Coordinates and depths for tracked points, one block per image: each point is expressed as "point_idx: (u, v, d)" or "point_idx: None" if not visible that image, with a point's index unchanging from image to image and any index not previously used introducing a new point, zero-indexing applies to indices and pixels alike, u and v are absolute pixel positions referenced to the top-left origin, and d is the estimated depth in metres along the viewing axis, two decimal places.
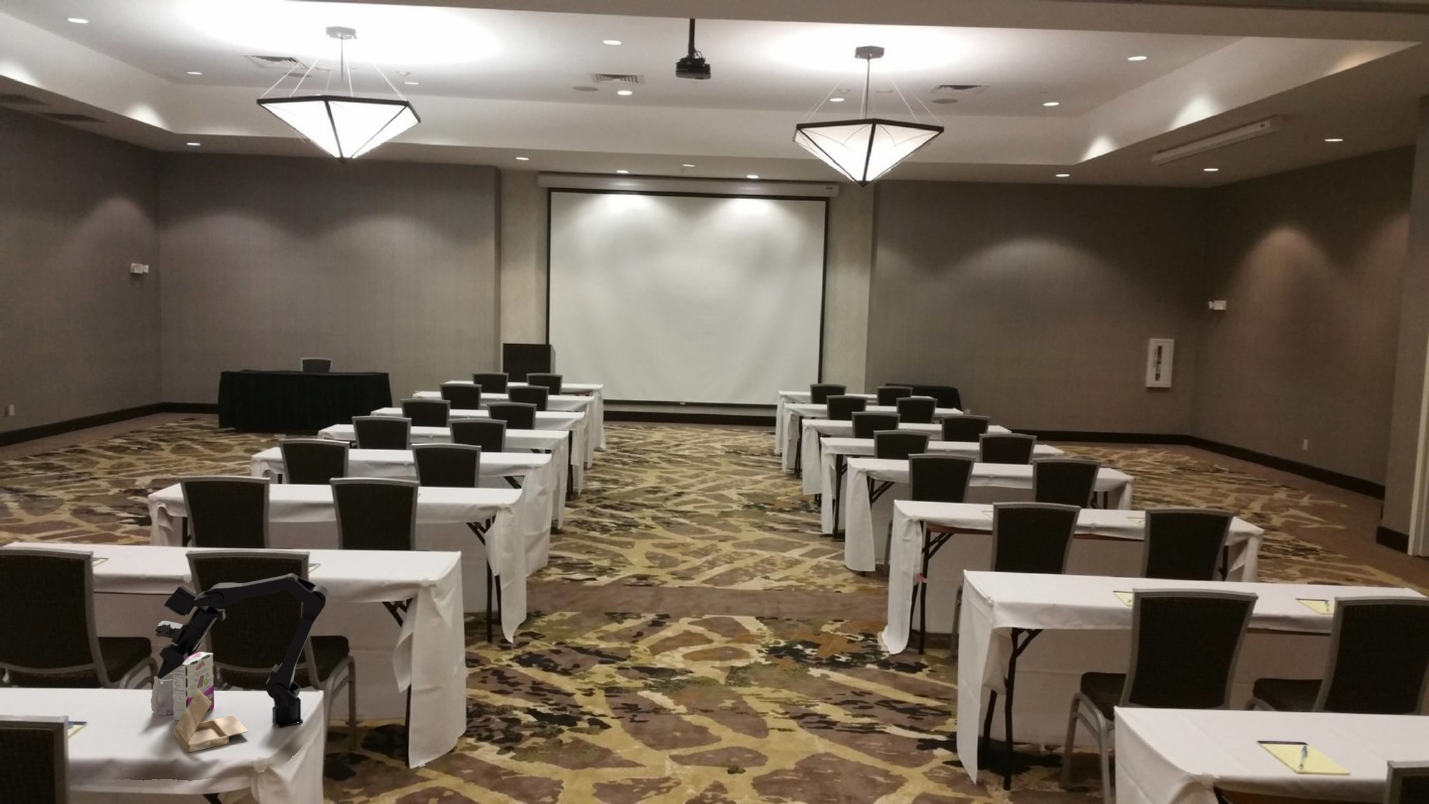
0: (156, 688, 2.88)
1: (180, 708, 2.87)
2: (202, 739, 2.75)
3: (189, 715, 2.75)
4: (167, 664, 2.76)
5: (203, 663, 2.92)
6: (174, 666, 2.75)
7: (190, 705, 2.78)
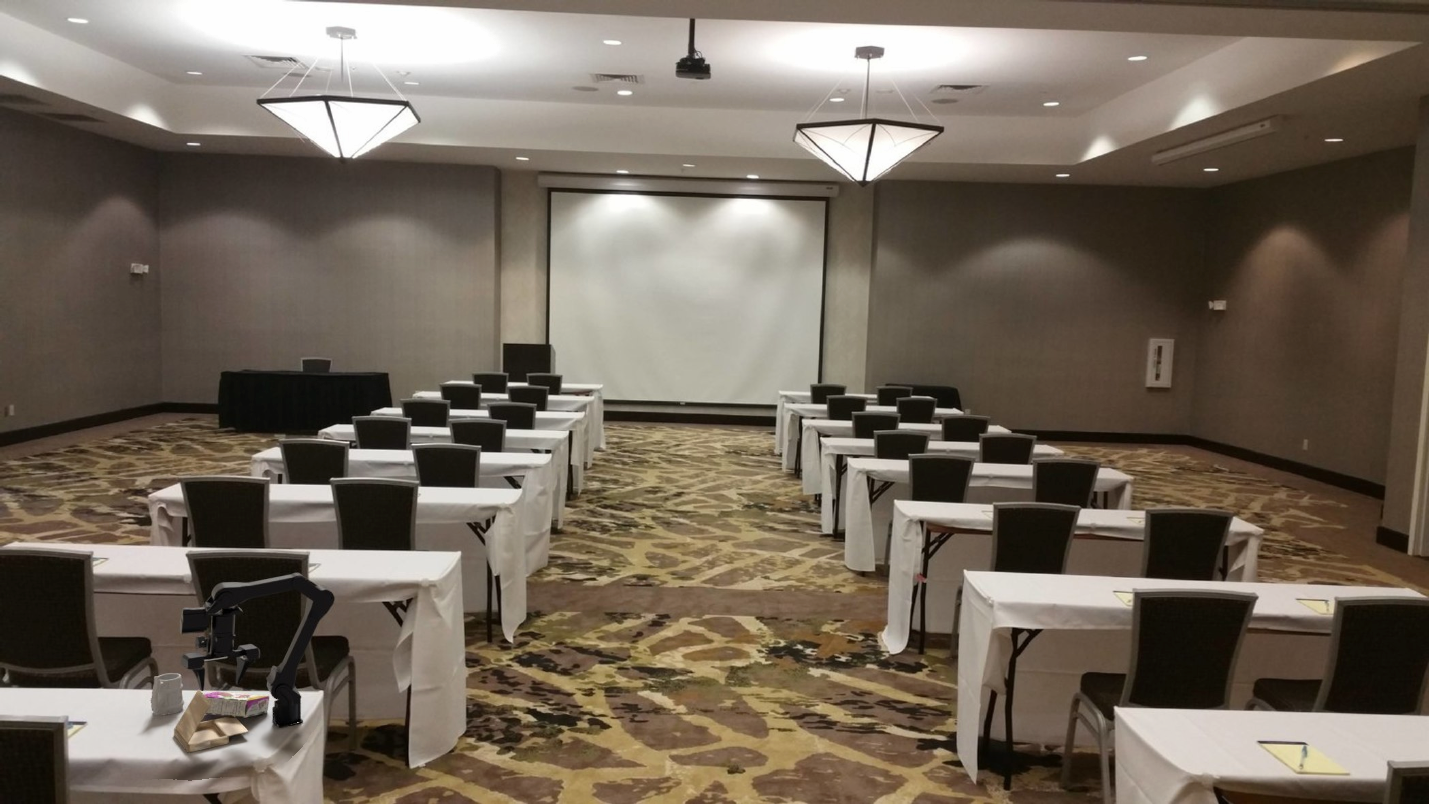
0: (156, 688, 2.88)
1: None
2: (202, 739, 2.75)
3: (189, 715, 2.75)
4: (198, 674, 2.74)
5: None
6: (198, 673, 2.73)
7: (190, 705, 2.78)
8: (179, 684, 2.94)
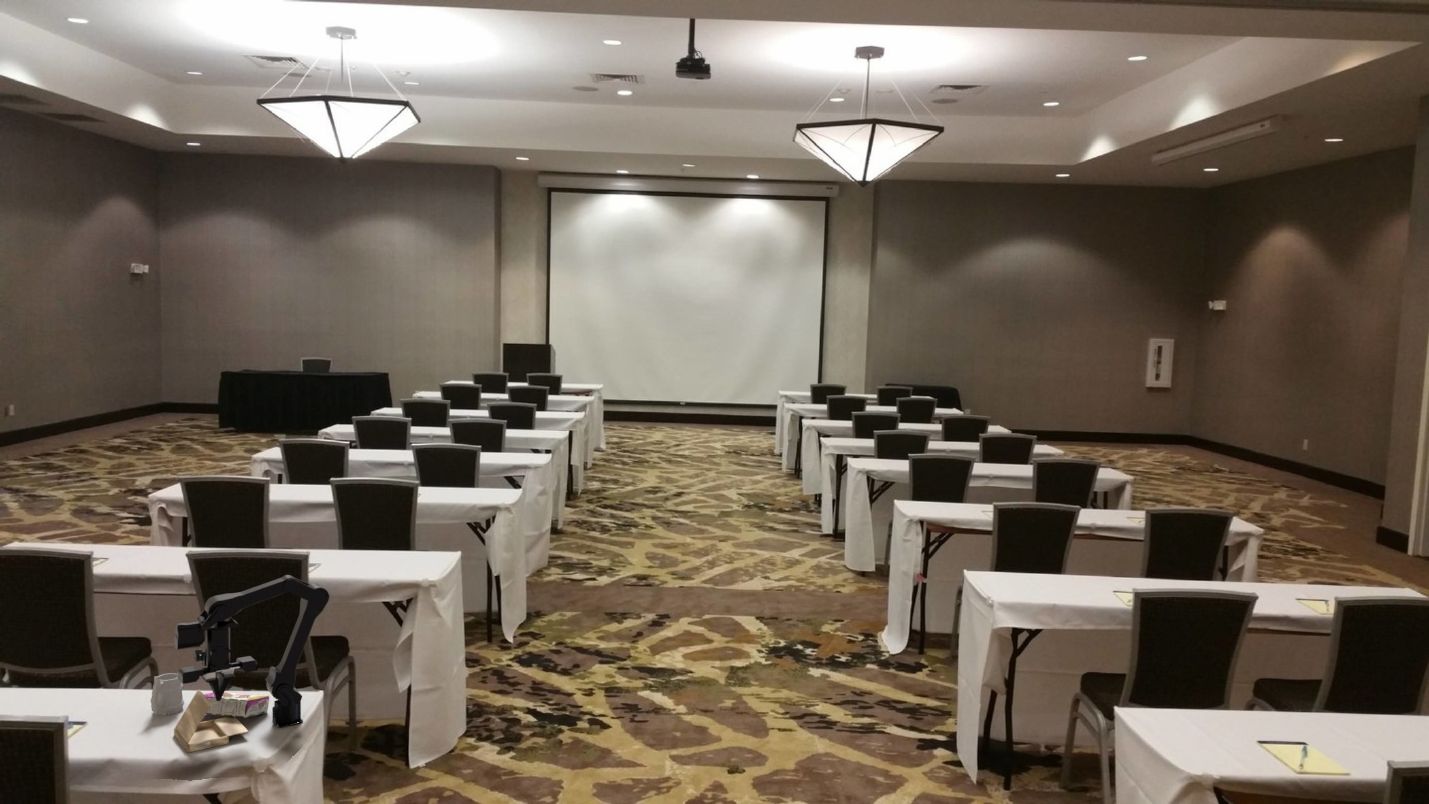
0: (156, 688, 2.88)
1: None
2: (202, 739, 2.75)
3: (189, 715, 2.75)
4: None
5: None
6: (212, 684, 2.75)
7: (190, 705, 2.78)
8: (179, 684, 2.94)
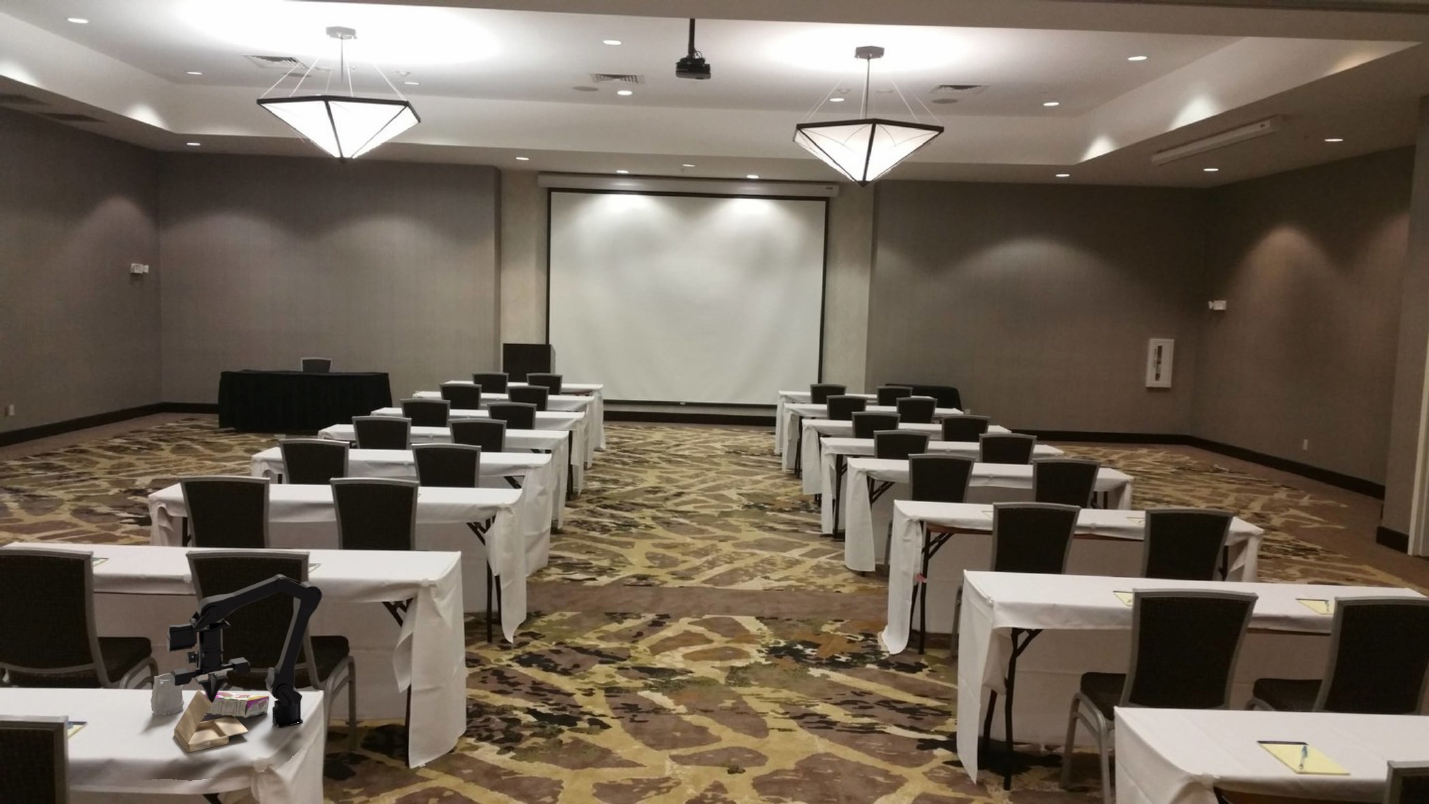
0: (156, 688, 2.88)
1: None
2: (202, 739, 2.75)
3: (189, 715, 2.75)
4: None
5: None
6: None
7: (190, 705, 2.78)
8: None
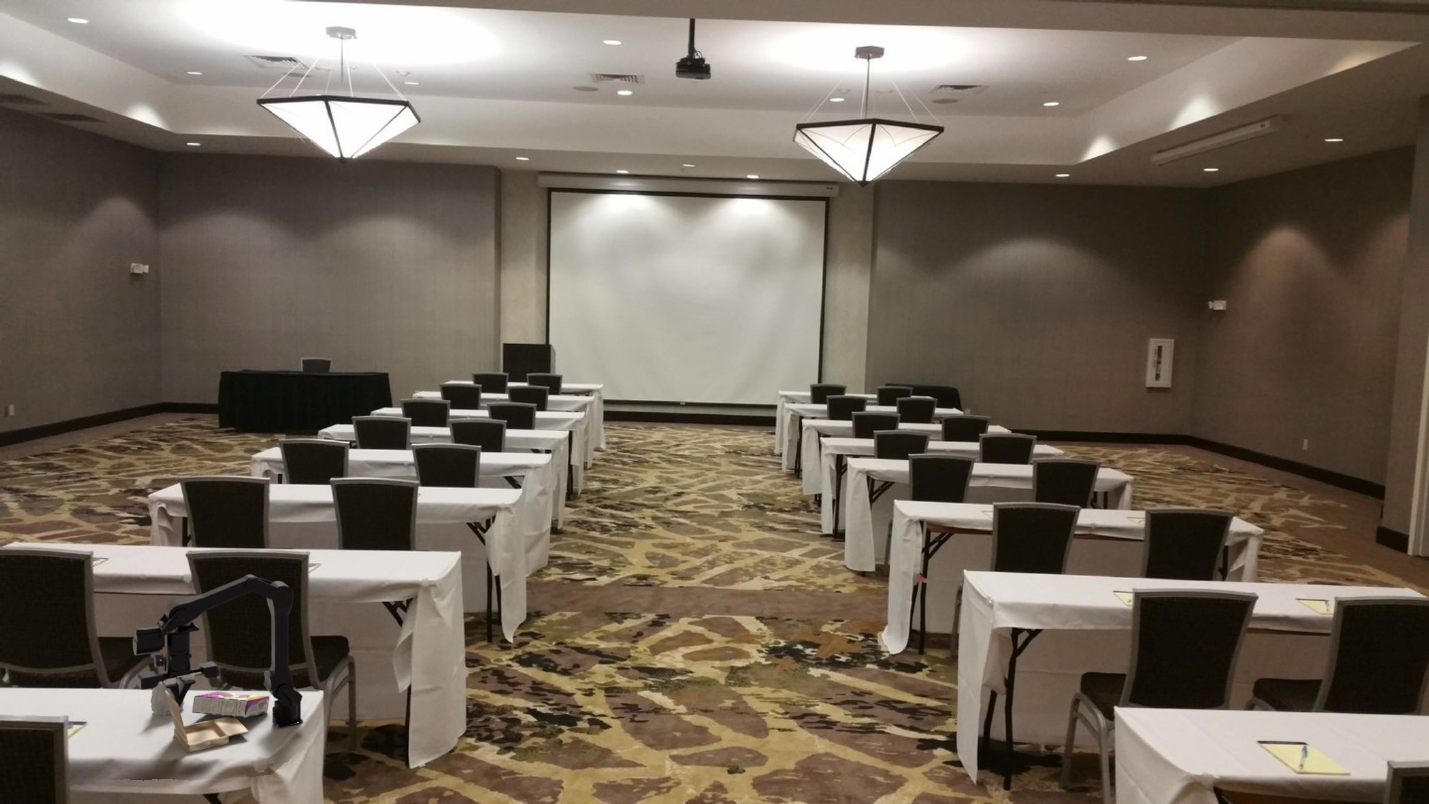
0: (156, 688, 2.88)
1: (204, 705, 2.87)
2: (202, 739, 2.75)
3: (174, 716, 2.73)
4: None
5: None
6: (172, 690, 2.68)
7: (170, 706, 2.75)
8: None
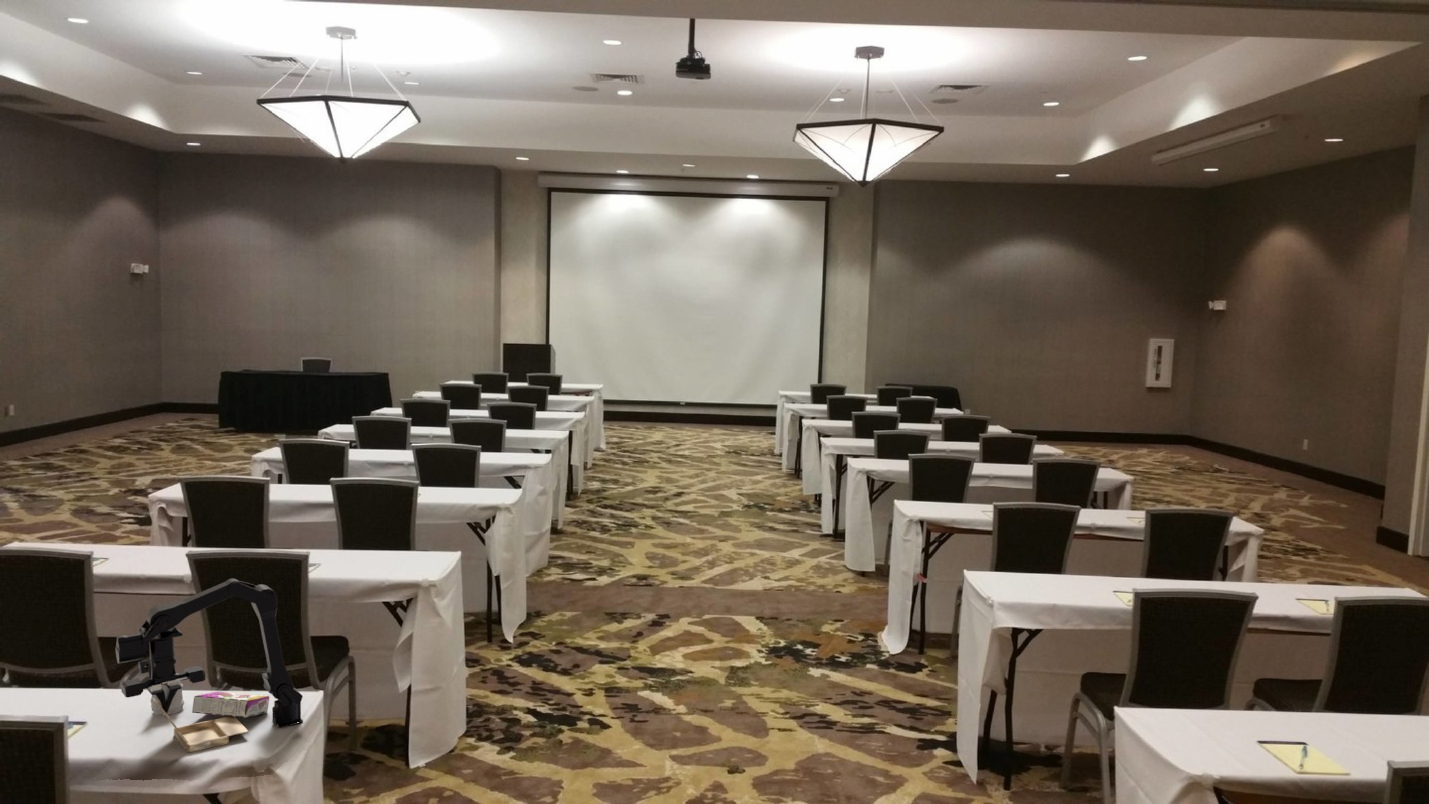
0: None
1: (204, 705, 2.87)
2: (202, 739, 2.75)
3: None
4: None
5: None
6: (158, 696, 2.66)
7: None
8: None
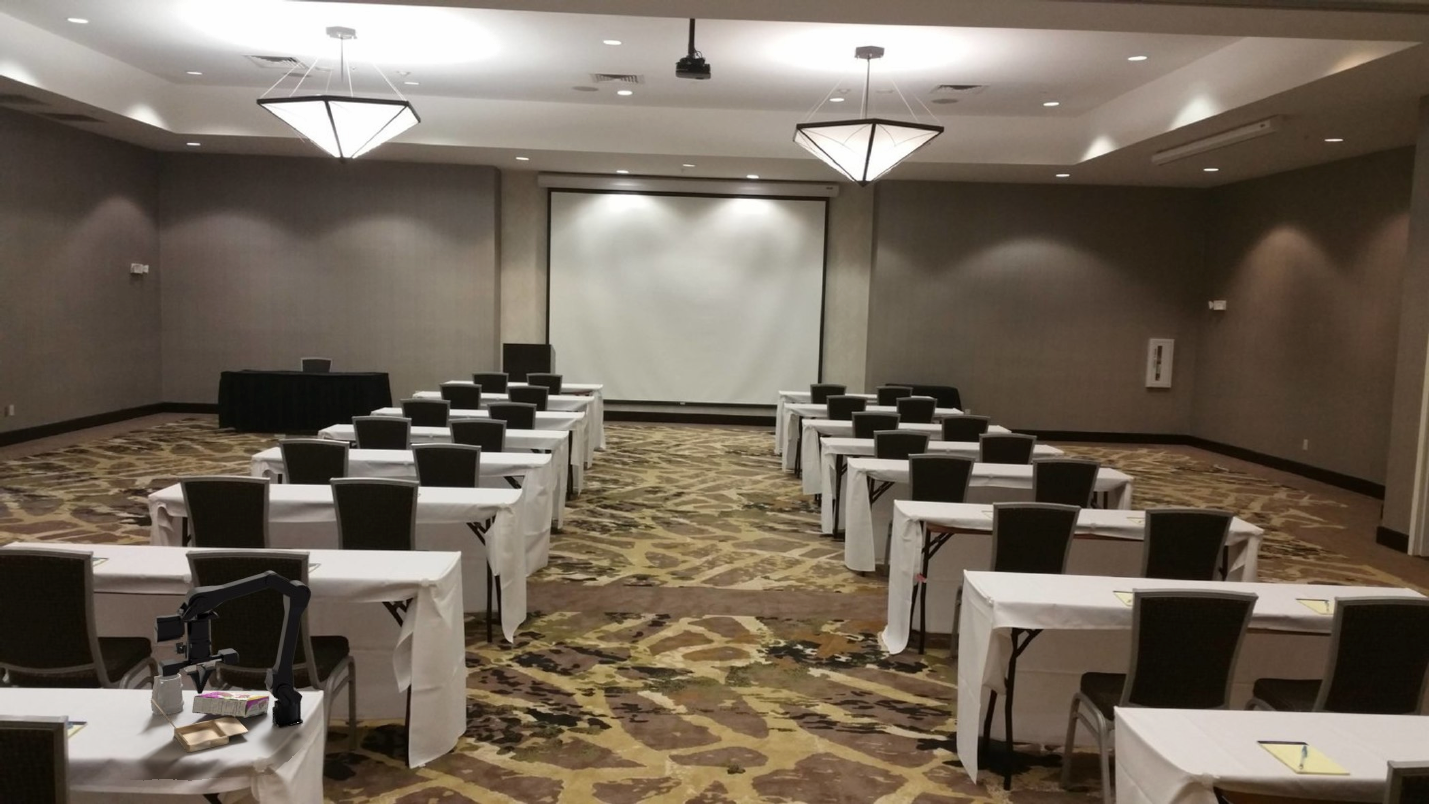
0: (156, 688, 2.88)
1: (204, 705, 2.87)
2: (202, 739, 2.75)
3: (168, 719, 2.72)
4: None
5: None
6: None
7: None
8: (179, 684, 2.94)
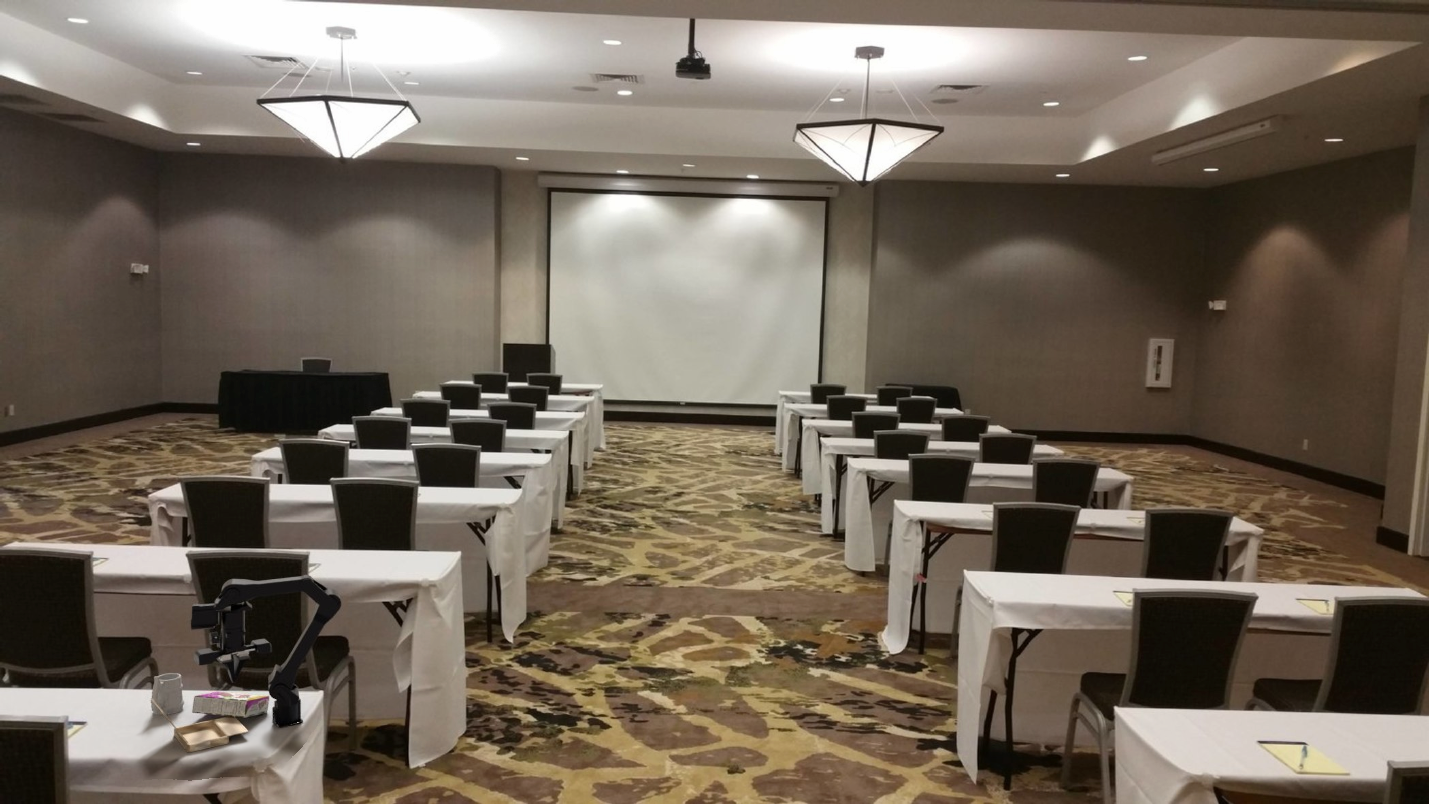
0: (156, 688, 2.88)
1: (204, 705, 2.87)
2: (202, 739, 2.75)
3: (168, 719, 2.72)
4: None
5: None
6: None
7: None
8: (179, 684, 2.94)
